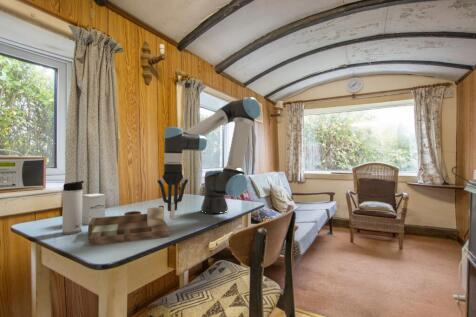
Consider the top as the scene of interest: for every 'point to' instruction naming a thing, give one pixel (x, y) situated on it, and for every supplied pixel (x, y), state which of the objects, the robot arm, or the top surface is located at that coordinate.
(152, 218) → the beech block
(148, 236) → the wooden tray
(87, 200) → the supplement box
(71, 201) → the travel mug
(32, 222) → the top surface
